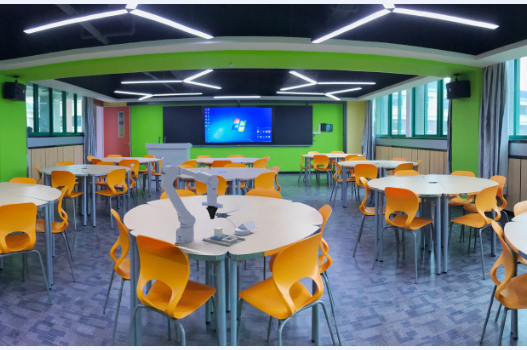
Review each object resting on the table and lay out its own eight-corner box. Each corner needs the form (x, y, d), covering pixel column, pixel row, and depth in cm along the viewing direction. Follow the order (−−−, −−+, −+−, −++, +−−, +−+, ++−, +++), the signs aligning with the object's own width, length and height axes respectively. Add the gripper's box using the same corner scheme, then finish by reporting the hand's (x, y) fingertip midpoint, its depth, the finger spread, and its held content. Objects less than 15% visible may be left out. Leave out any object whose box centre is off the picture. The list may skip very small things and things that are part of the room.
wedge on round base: (246, 230, 213) (231, 234, 203) (246, 219, 213) (231, 223, 203) (257, 232, 208) (243, 237, 198) (257, 221, 207) (243, 226, 197)
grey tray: (229, 248, 179) (229, 242, 178) (201, 241, 190) (201, 236, 190) (246, 241, 190) (246, 236, 190) (218, 235, 201) (218, 230, 201)
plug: (218, 240, 190) (218, 229, 189) (214, 239, 192) (214, 228, 191) (222, 238, 193) (222, 228, 192) (218, 237, 194) (218, 227, 194)
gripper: (226, 195, 197) (226, 219, 198) (207, 193, 205) (208, 215, 206) (217, 197, 191) (218, 221, 192) (199, 195, 199) (199, 218, 201)
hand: (212, 218), depth 199 cm, fingers closed
